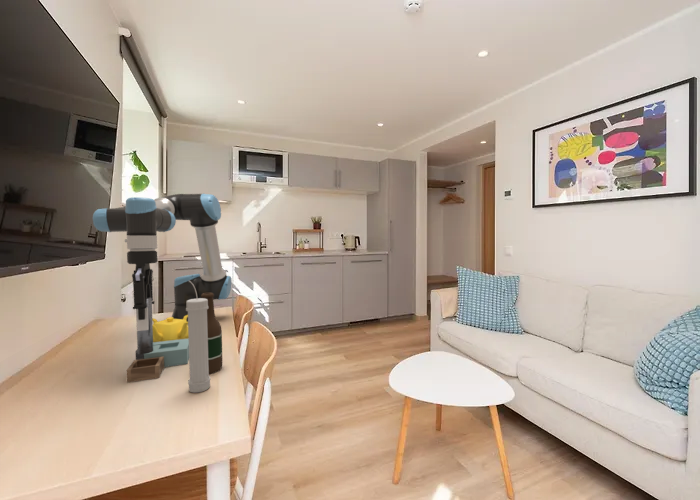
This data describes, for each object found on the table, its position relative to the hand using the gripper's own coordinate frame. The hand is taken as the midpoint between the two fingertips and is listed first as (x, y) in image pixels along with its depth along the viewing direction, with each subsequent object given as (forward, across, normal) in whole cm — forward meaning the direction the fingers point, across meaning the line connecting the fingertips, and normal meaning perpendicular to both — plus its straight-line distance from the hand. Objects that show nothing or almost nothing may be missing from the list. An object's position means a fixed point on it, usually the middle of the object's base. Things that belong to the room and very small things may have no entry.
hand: (144, 328), depth 94 cm
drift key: (+14, -15, -1) cm, 20 cm away
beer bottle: (+14, +3, +18) cm, 23 cm away
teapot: (+14, -34, +2) cm, 37 cm away
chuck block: (+14, -11, +4) cm, 18 cm away
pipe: (+14, +16, +16) cm, 27 cm away
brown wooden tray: (+14, 0, 0) cm, 14 cm away
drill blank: (+7, 0, 0) cm, 7 cm away
